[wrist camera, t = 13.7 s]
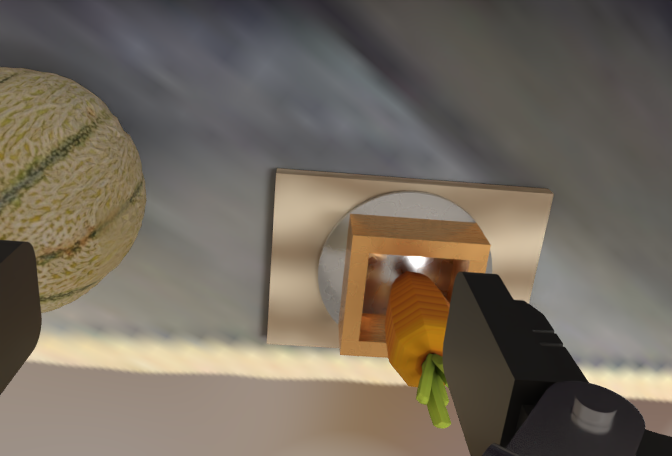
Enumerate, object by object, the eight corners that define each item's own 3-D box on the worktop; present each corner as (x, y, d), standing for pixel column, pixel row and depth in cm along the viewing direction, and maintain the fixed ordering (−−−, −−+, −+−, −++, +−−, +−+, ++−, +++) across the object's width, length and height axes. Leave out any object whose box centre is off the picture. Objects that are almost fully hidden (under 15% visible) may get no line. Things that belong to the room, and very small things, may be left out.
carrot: (398, 232, 46) (434, 350, 32) (453, 265, 47) (511, 392, 33) (360, 285, 47) (379, 418, 33) (415, 315, 48) (454, 456, 35)
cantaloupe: (181, 80, 43) (118, 133, 29) (153, 270, 48) (88, 391, 34) (-45, 28, 41) (-228, 57, 27) (-49, 231, 47) (-203, 342, 33)
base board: (277, 168, 46) (276, 173, 44) (548, 188, 47) (553, 194, 46) (267, 335, 51) (266, 343, 50) (511, 350, 52) (516, 358, 51)
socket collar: (325, 183, 45) (326, 206, 41) (505, 197, 46) (524, 220, 41) (311, 341, 50) (311, 375, 45) (474, 350, 50) (488, 385, 46)
